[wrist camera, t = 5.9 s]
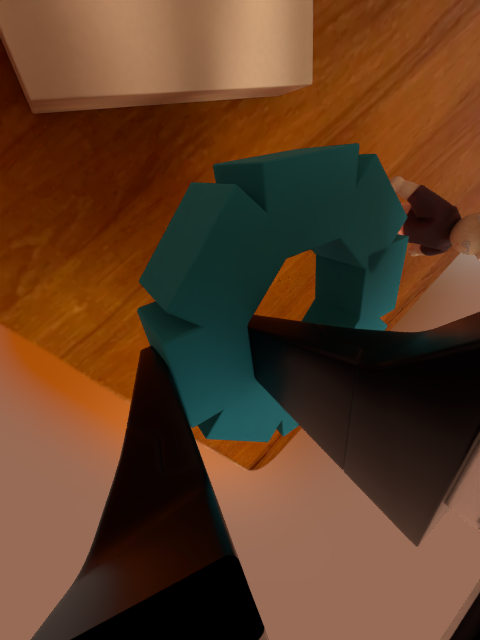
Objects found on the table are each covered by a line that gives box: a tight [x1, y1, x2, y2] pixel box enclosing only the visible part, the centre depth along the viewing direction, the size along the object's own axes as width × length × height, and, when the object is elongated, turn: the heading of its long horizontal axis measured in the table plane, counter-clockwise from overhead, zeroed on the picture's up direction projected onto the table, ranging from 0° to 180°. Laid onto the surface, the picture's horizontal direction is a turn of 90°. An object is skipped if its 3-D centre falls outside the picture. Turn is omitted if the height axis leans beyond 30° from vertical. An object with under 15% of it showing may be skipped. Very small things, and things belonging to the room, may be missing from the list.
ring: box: [137, 143, 409, 442], centre depth 10 cm, size 10×10×2 cm
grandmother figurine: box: [390, 176, 480, 260], centre depth 21 cm, size 8×4×13 cm, turn 54°
